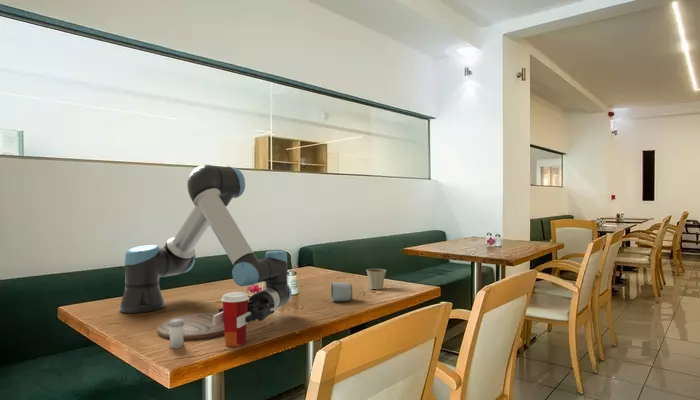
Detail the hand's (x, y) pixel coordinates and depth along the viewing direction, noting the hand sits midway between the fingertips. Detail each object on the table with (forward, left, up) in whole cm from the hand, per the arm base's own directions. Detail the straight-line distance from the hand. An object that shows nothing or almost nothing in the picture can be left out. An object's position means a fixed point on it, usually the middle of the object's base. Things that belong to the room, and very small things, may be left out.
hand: (226, 321), depth 117 cm
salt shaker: (-15, -1, -8) cm, 17 cm away
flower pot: (+24, +89, -8) cm, 93 cm away
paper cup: (0, +5, -8) cm, 9 cm away
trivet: (-19, +16, -8) cm, 26 cm away
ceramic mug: (+14, +64, -8) cm, 66 cm away
